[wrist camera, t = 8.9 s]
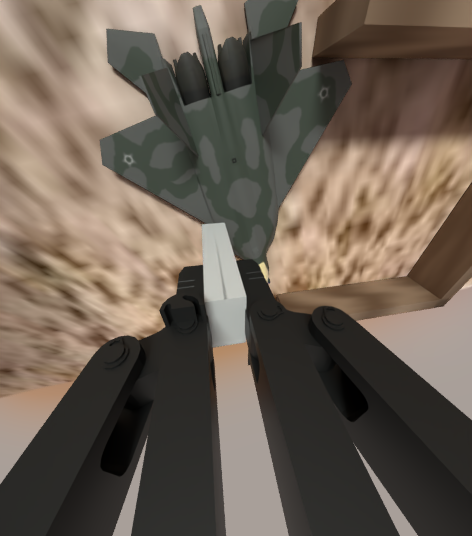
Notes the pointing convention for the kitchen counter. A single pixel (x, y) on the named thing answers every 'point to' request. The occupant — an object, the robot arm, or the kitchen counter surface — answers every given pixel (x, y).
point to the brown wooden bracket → (468, 208)
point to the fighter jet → (226, 122)
